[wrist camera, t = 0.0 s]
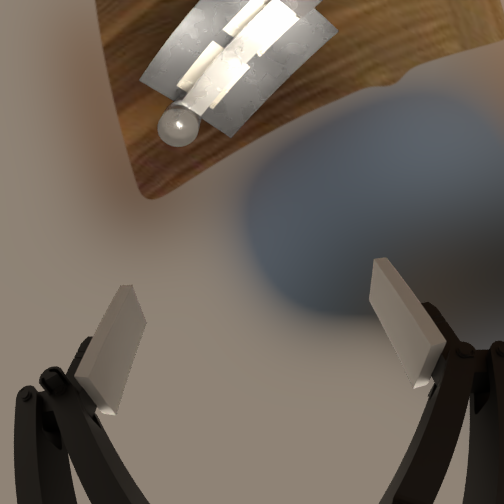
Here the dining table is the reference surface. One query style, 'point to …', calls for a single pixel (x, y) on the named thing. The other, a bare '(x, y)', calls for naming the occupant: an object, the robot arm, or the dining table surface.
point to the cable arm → (226, 69)
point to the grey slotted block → (251, 75)
